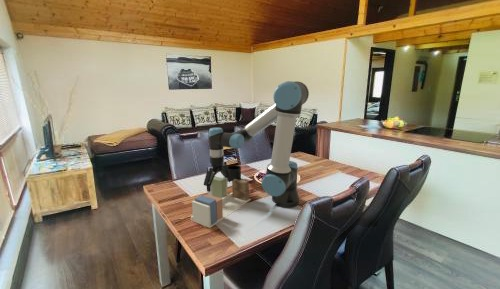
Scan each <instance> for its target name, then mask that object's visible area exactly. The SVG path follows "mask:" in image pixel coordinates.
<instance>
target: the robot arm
mask: <svg viewBox="0 0 500 289" xmlns="http://www.w3.org/2000/svg"><path fill="white" fill-rule="evenodd" d="M309 96H310V93H309V89H308V86H307V85H306V84H305V83H303V82H301V81H289V80H288V81H285V82H282V83H280V84H278V86H276V88H275V90H274V91H273V102H274V103H273V104H272V105H271V106H269V107H268V108H266V109H265V110H264V111H263V112H261V113H260V114H259V115H257V116H256V117H255V118H254V119H252V120H251V121H250V122H249V123H248V124H246V125H245V126H244V127H242V128H241V129H240V130H236V131H234V132H224V130H223V128H222V127H211V128H209V130H208V141H209V142H208V144H209V148H208V149H209V163H210V167H209V166H207V167H206V172H205V173H206V174H205V177H204V181H203V186H205V187H206V191H207V196H208V195H212V185H211V183H212V181H213V179H214V176H217V174H219V173H221V175H222V176H223V177H222V178H224V179H226V190H227V189H228V182H229V181H228V178H229V175H230V172H229V170H228V164H227V161H225V157H224V148H231V149H242V148H243V146H244V144H245V143H249V142H250V141H251V140H252V139H253V138H254V137H255V136H257V135H258V134H259V133H262V131H263V130H265V129H266V128H267V127H269V126H271V125H272V124H273V123H274V122H276V124H275V129H274V130H275V131H274V138H273V146H272V154H271V158H270V159H271V160H270V163H268V164H267V166H266V172H265V175H264V176H263V178H262V180H261V188H262V190H264V192H265V193H266V194H267V195H269V196H271V200H272V203H274V206H277V207H281V208H294V207H297V206H298V205H299V204H300V194H299V192H298V188H297V187H298V186H297V185H298V164H297V162H295V161H293V160H290V158H291V153H292V147H293V142H294V135H295V129H296V124H297V118H298V117H299V116H301V113H302V108H303V105H304V104H305V103H306V102H307V101H308V99H309Z"/></svg>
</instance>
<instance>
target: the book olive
mask: <svg viewBox="0 0 500 289" xmlns="http://www.w3.org/2000/svg"><path fill="white" fill-rule="evenodd" d="M211 185H212V196H215V197H218V198H223V197H225V196H227V195H228V194H227V189H226V179H224V178H223V177H219V176H217V175H215V176H214V179H213V181H212V183H211Z"/></svg>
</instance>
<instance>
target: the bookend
mask: <svg viewBox="0 0 500 289" xmlns="http://www.w3.org/2000/svg"><path fill="white" fill-rule="evenodd" d="M249 184H250V182H249V181H246V180H243V179H241V180H238V179H234V180H232V181H231V186H232V192H233V197H234V198H237V199H241V200H244V201H246V200H248V199H250V196H249V195H250V194H249V193H250V192H249V190H250V189H249V188H250V187H249V186H250V185H249ZM232 192H231V193H232Z"/></svg>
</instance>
